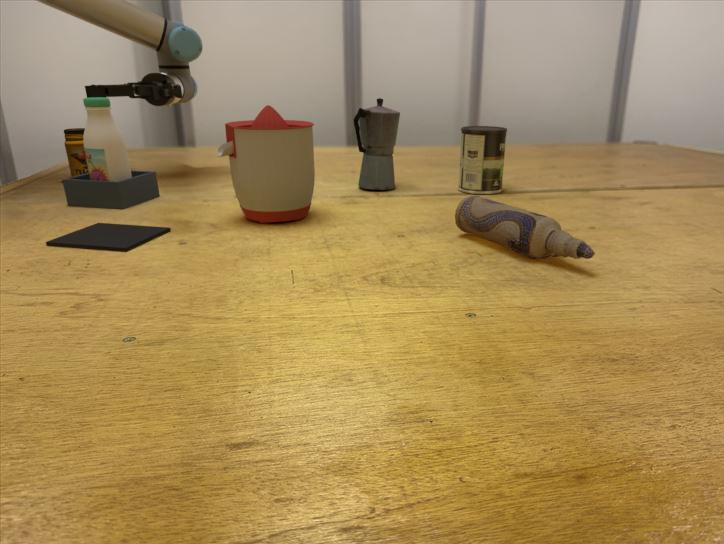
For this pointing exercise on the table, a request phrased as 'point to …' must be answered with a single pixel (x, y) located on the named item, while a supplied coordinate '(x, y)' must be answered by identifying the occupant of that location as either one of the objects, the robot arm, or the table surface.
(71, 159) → the condiment
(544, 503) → the table surface
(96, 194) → the bin
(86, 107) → the milk bottle
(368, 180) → the moka pot
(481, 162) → the coffee can
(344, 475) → the table surface
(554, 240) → the decorative bottle
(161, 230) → the mat
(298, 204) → the citrus juicer
